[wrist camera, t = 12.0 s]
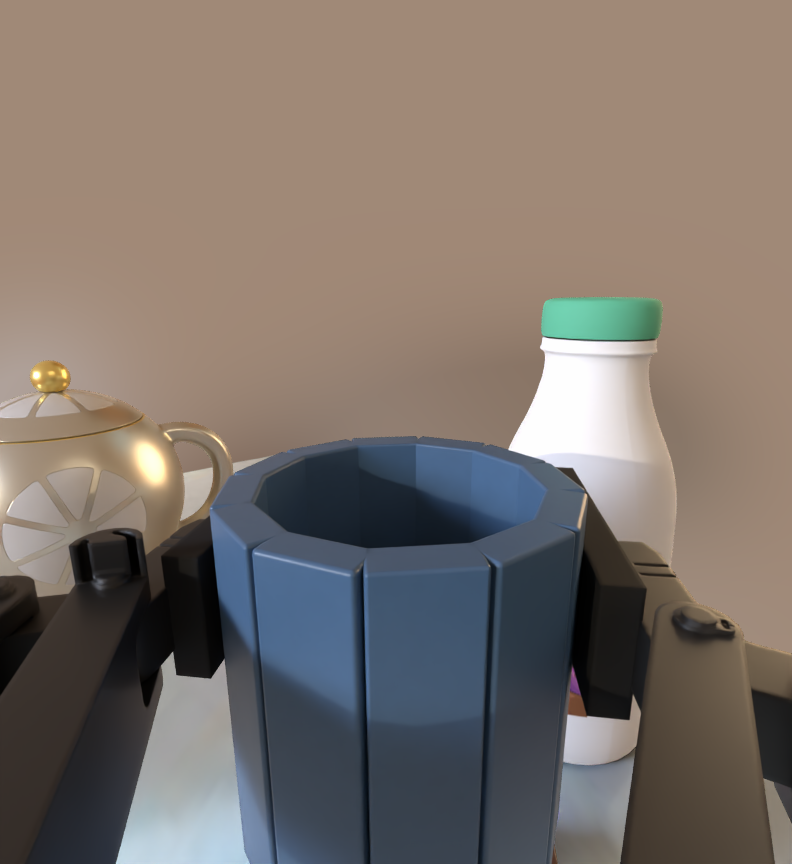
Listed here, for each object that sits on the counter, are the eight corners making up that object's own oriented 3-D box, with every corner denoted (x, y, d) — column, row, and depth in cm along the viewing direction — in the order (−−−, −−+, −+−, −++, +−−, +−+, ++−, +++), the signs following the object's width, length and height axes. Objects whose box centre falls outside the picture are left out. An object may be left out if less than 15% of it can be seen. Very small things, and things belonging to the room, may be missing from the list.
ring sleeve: (570, 728, 14) (597, 454, 12) (522, 1075, 8) (561, 621, 6) (344, 658, 17) (336, 426, 15) (174, 872, 11) (122, 519, 9)
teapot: (-70, 715, 25) (-160, 387, 21) (-45, 592, 36) (-101, 358, 32) (274, 596, 36) (258, 359, 31) (214, 527, 46) (196, 344, 42)
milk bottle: (588, 645, 30) (626, 297, 25) (684, 755, 23) (763, 296, 18) (464, 664, 29) (478, 297, 24) (525, 787, 22) (564, 296, 17)
